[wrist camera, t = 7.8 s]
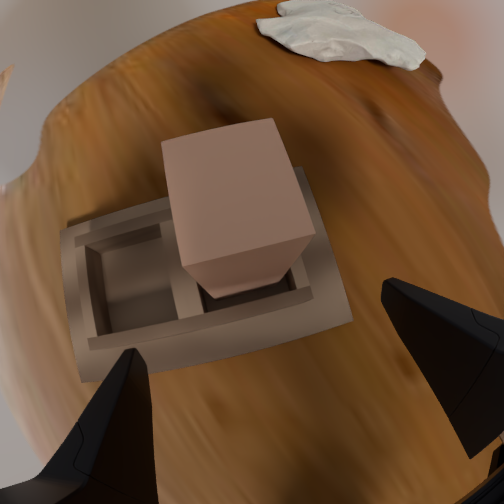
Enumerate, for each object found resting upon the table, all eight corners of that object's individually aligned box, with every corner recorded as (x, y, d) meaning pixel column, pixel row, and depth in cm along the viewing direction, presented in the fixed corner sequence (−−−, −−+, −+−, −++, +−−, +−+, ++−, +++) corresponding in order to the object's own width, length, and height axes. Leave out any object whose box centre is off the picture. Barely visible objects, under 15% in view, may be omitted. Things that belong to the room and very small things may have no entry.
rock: (365, 121, 25) (426, 73, 26) (376, 90, 21) (437, 49, 22) (229, 38, 30) (304, 5, 32) (223, 11, 26) (305, -17, 27)
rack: (347, 320, 20) (368, 318, 16) (89, 380, 18) (63, 387, 14) (299, 173, 23) (308, 147, 19) (67, 235, 21) (43, 220, 17)
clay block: (275, 285, 19) (315, 233, 8) (216, 301, 19) (182, 266, 8) (257, 223, 20) (272, 117, 10) (201, 236, 20) (161, 141, 9)
